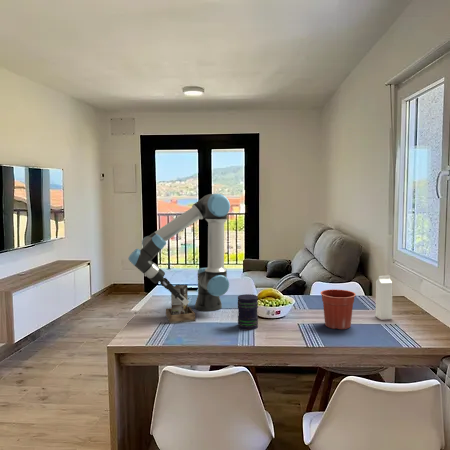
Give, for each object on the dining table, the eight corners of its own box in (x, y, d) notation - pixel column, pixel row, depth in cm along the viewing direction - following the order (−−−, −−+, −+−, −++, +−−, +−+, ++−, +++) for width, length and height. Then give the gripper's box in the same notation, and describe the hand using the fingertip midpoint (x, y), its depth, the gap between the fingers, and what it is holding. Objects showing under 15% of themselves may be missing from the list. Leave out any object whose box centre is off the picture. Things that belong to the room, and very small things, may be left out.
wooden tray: (190, 313, 227) (189, 306, 227) (195, 321, 214) (195, 313, 213) (166, 316, 224) (165, 308, 223) (170, 323, 210) (169, 315, 210)
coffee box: (183, 319, 214) (182, 288, 212) (171, 318, 215) (170, 287, 214) (188, 314, 222) (187, 284, 221) (176, 313, 224) (176, 284, 223)
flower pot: (354, 332, 193) (354, 298, 192) (318, 329, 199) (318, 296, 197) (356, 322, 208) (356, 290, 207) (322, 319, 214) (322, 288, 213)
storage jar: (234, 325, 206) (234, 295, 205) (252, 322, 210) (252, 293, 209) (243, 331, 197) (243, 300, 196) (261, 328, 201) (261, 297, 200)
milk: (375, 316, 218) (375, 274, 216) (386, 316, 218) (386, 274, 217) (380, 319, 212) (381, 276, 210) (392, 319, 212) (392, 276, 211)
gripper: (147, 274, 224) (176, 300, 229) (152, 283, 201) (184, 312, 207) (157, 264, 225) (185, 290, 231) (162, 272, 202) (194, 300, 208)
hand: (185, 300), depth 219 cm, fingers open, 11 cm apart
